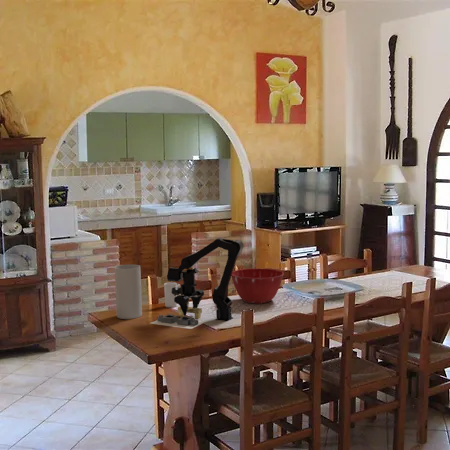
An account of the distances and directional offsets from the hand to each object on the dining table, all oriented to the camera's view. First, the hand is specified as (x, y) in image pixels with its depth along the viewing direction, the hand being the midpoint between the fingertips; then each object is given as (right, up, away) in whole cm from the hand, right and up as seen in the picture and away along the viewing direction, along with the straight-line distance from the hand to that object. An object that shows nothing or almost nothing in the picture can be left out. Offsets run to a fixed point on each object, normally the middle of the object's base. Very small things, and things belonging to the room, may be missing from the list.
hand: (189, 313), depth 309 cm
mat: (-5, -4, -9) cm, 11 cm away
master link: (0, -2, 0) cm, 2 cm away
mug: (-10, 0, +26) cm, 28 cm away
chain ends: (-5, -3, -9) cm, 11 cm away
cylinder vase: (-30, -3, +5) cm, 31 cm away
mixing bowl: (+35, +2, +32) cm, 48 cm away
